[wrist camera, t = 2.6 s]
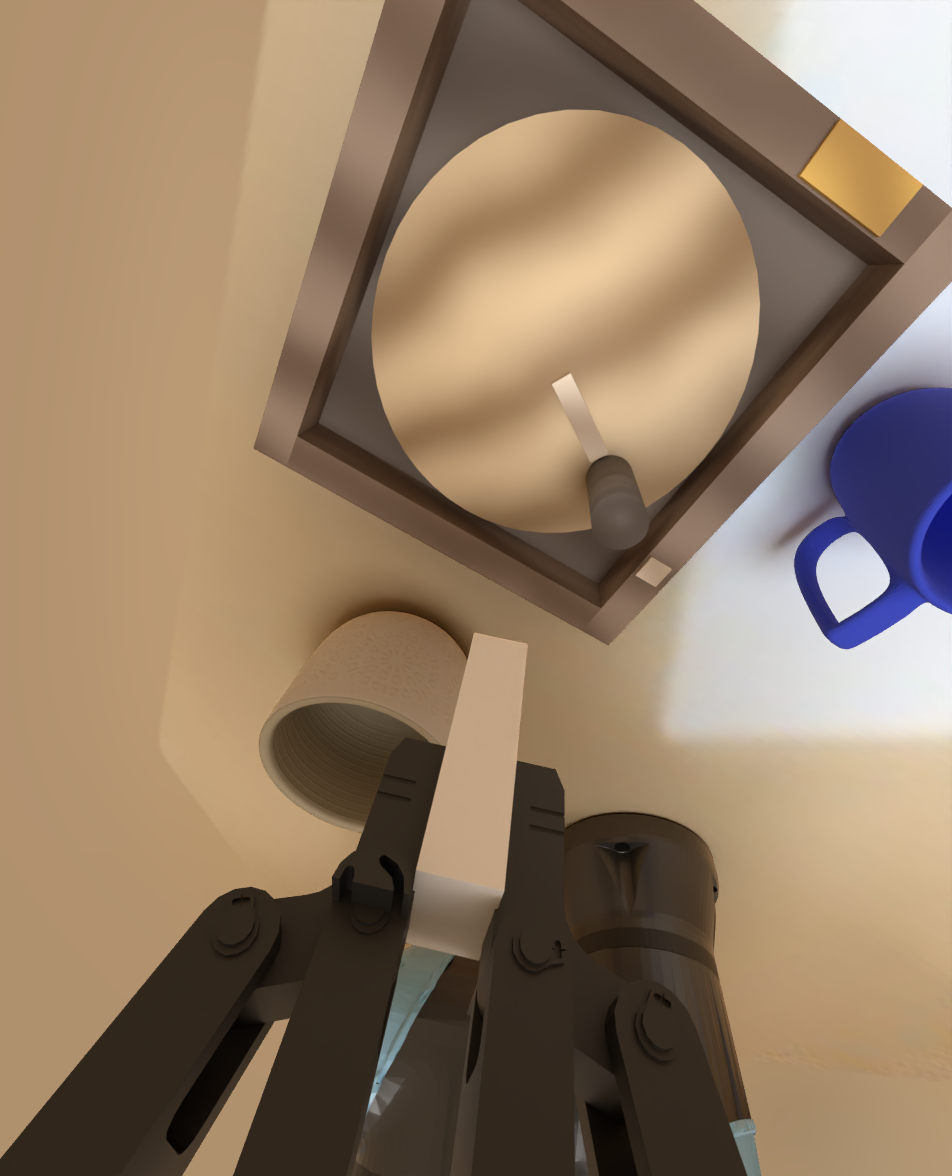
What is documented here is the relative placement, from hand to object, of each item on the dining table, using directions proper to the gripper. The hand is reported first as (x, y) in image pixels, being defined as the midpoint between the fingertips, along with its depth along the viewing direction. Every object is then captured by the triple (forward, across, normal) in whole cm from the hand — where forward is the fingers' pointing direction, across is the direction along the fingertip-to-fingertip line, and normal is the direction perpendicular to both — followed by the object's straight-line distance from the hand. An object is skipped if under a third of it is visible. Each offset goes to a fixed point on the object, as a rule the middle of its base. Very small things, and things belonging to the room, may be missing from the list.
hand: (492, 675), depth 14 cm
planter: (+19, -6, -17) cm, 26 cm away
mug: (+19, +18, +3) cm, 26 cm away
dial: (+19, 0, +6) cm, 20 cm away
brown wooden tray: (+19, 0, +6) cm, 20 cm away
